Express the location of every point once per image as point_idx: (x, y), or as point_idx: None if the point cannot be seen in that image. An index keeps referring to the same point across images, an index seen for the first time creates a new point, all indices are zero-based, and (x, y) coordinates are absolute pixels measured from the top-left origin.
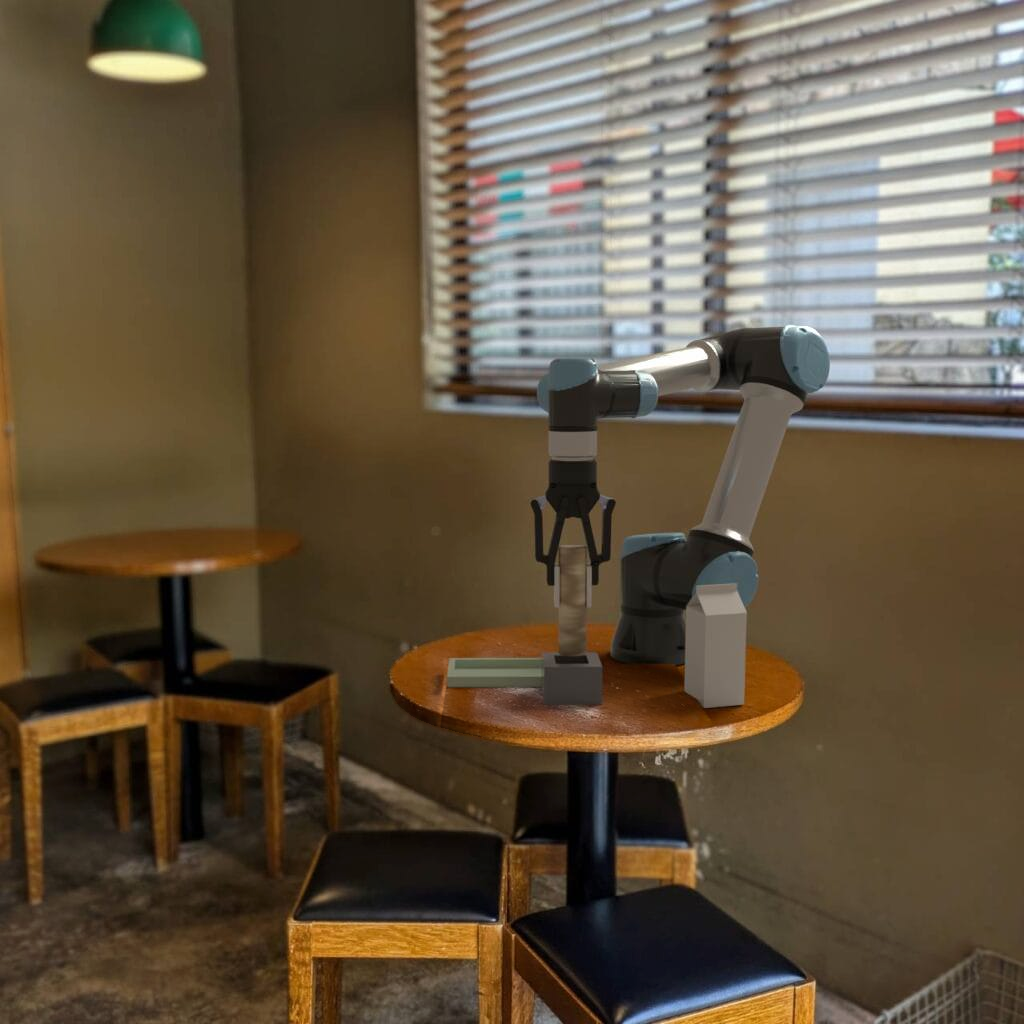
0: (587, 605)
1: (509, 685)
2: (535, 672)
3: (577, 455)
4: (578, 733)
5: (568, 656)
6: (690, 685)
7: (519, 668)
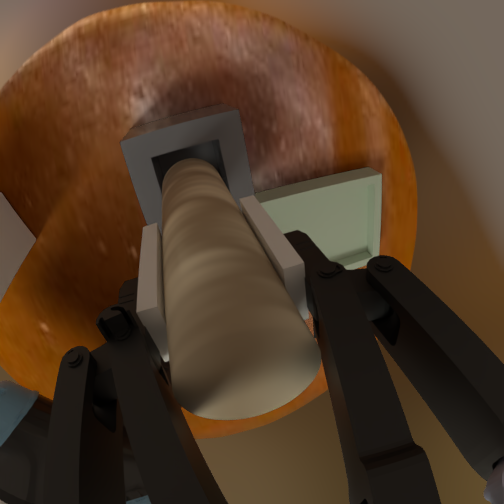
0: (155, 225)
1: (293, 188)
2: None
3: None
4: (153, 11)
5: None
6: (17, 233)
7: None
